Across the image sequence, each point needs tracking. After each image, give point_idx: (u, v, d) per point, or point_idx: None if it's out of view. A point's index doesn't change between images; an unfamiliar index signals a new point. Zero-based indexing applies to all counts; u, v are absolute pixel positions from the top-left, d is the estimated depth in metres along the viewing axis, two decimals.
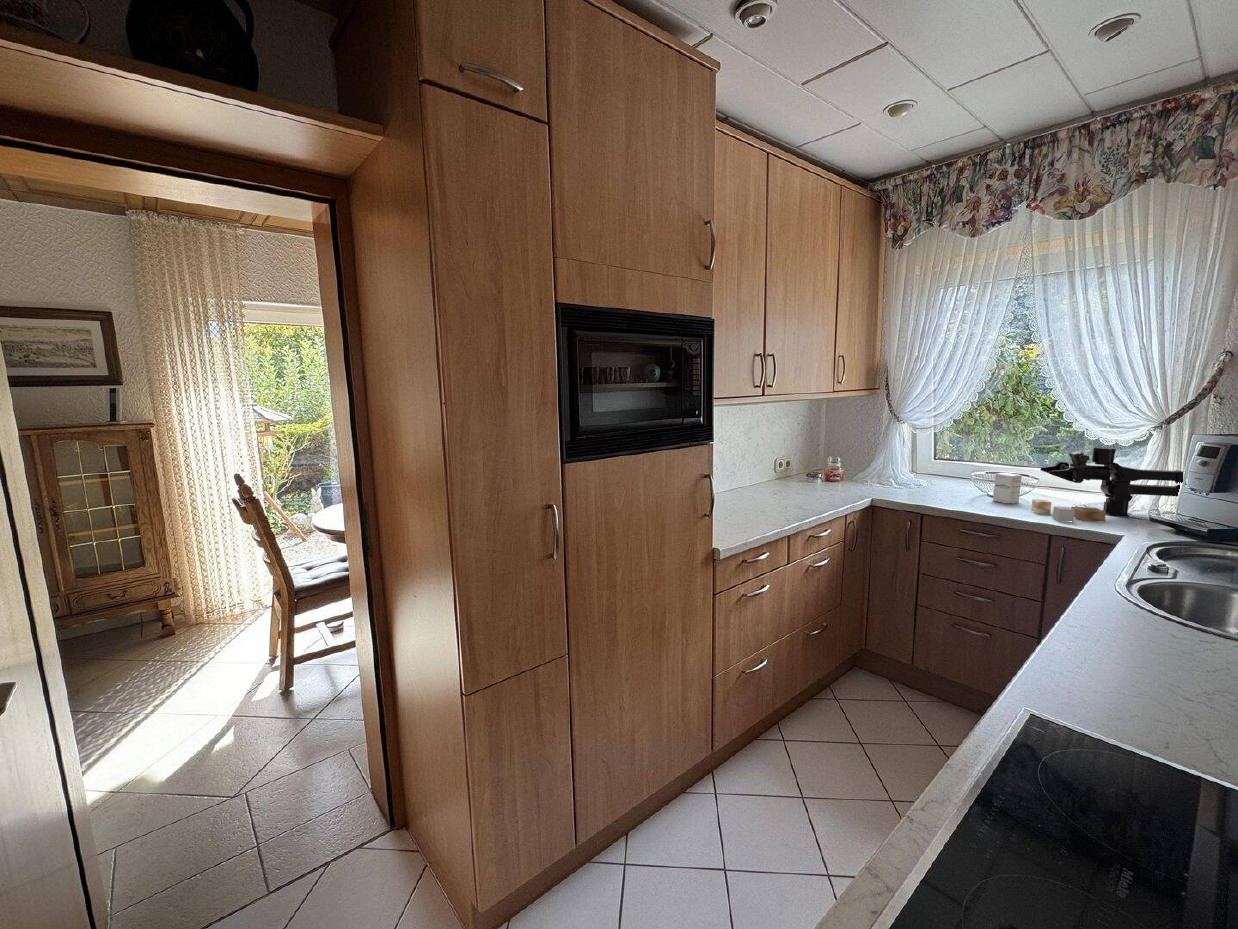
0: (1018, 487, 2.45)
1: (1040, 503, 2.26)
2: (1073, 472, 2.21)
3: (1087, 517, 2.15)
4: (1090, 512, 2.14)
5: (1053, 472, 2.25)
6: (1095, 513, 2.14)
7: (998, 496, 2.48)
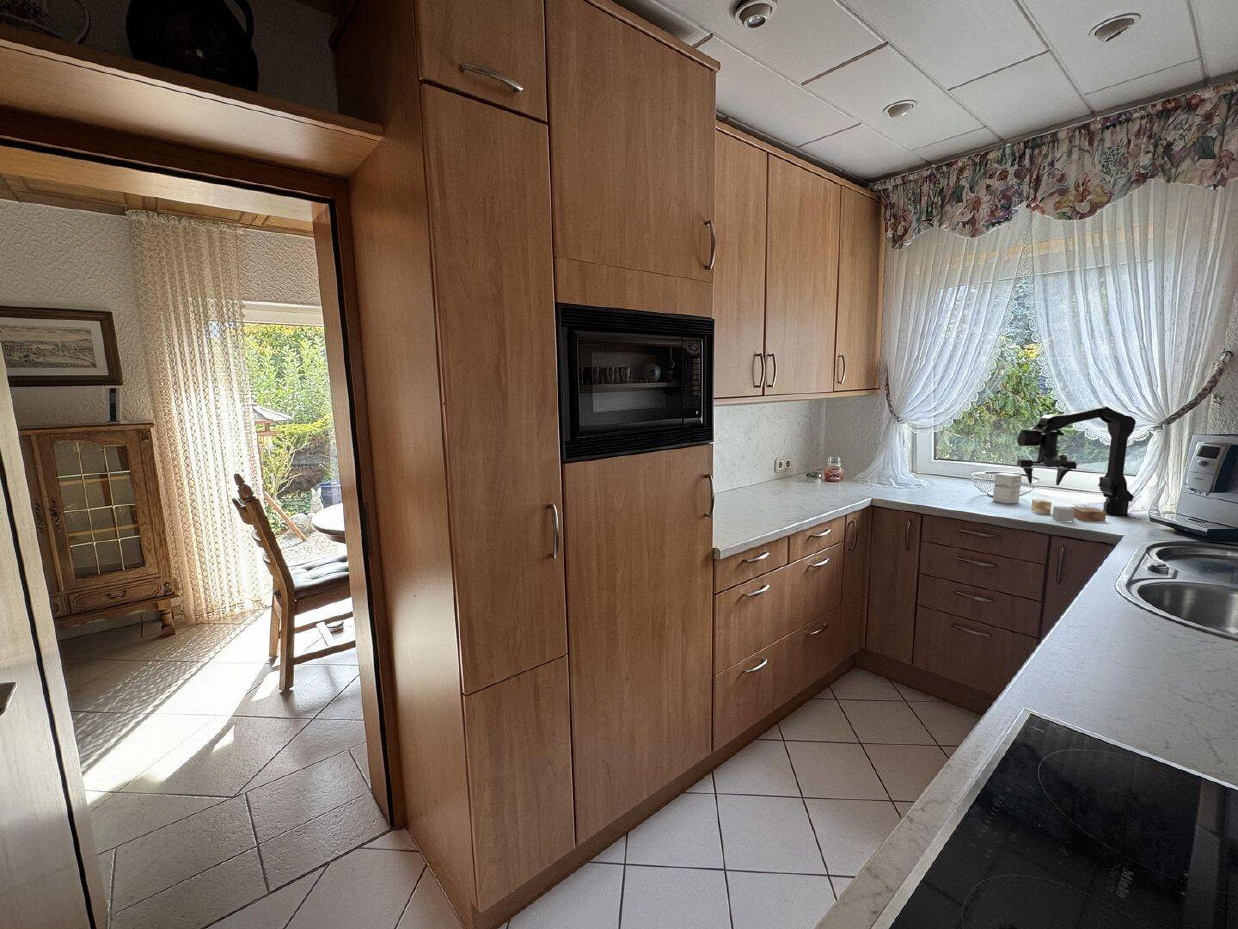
0: (1018, 487, 2.45)
1: (1040, 503, 2.26)
2: None
3: (1088, 517, 2.15)
4: (1091, 512, 2.14)
5: None
6: (1096, 513, 2.14)
7: (998, 496, 2.48)
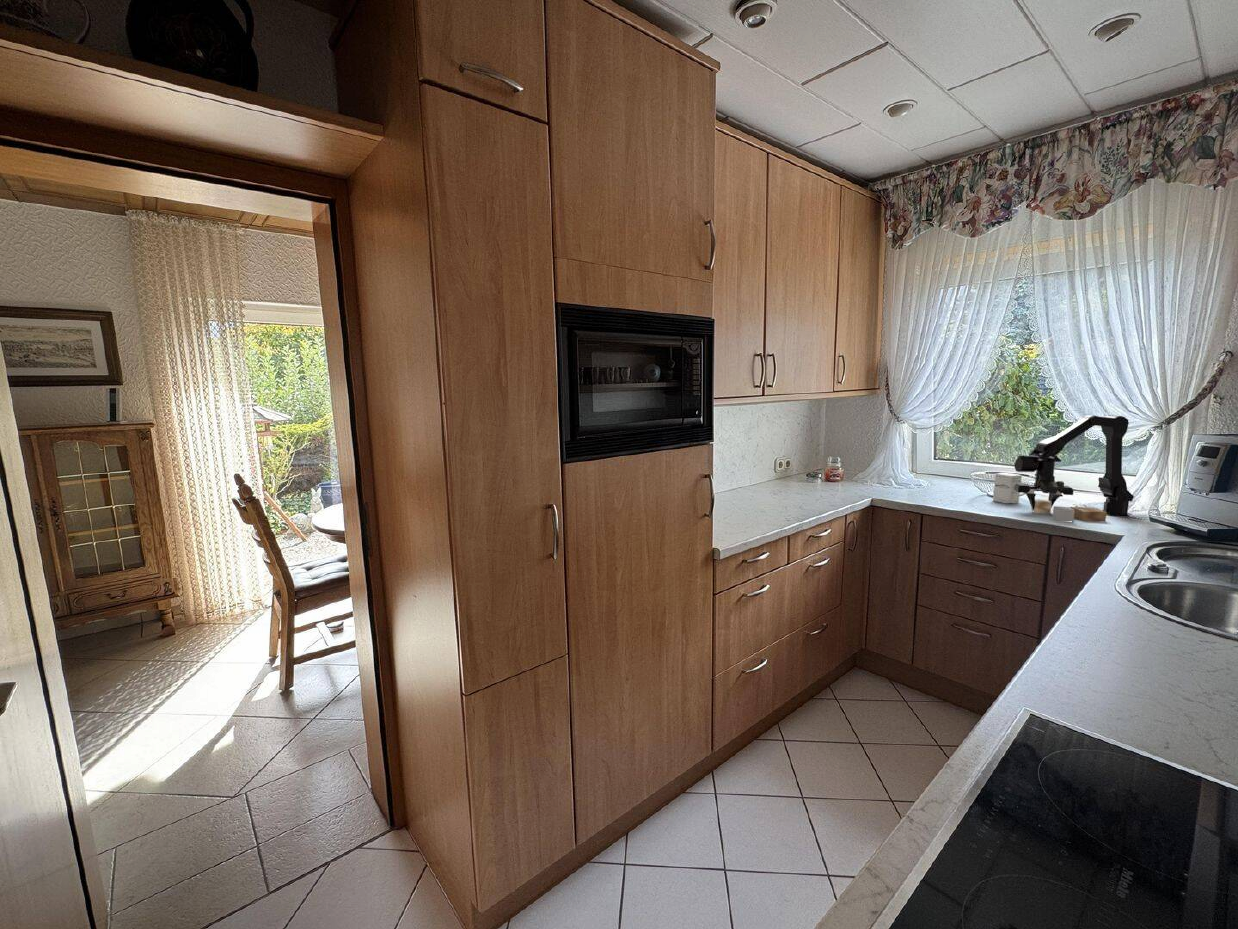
0: None
1: (1040, 503, 2.26)
2: None
3: (1089, 517, 2.14)
4: (1092, 512, 2.14)
5: None
6: (1097, 513, 2.14)
7: (998, 496, 2.48)
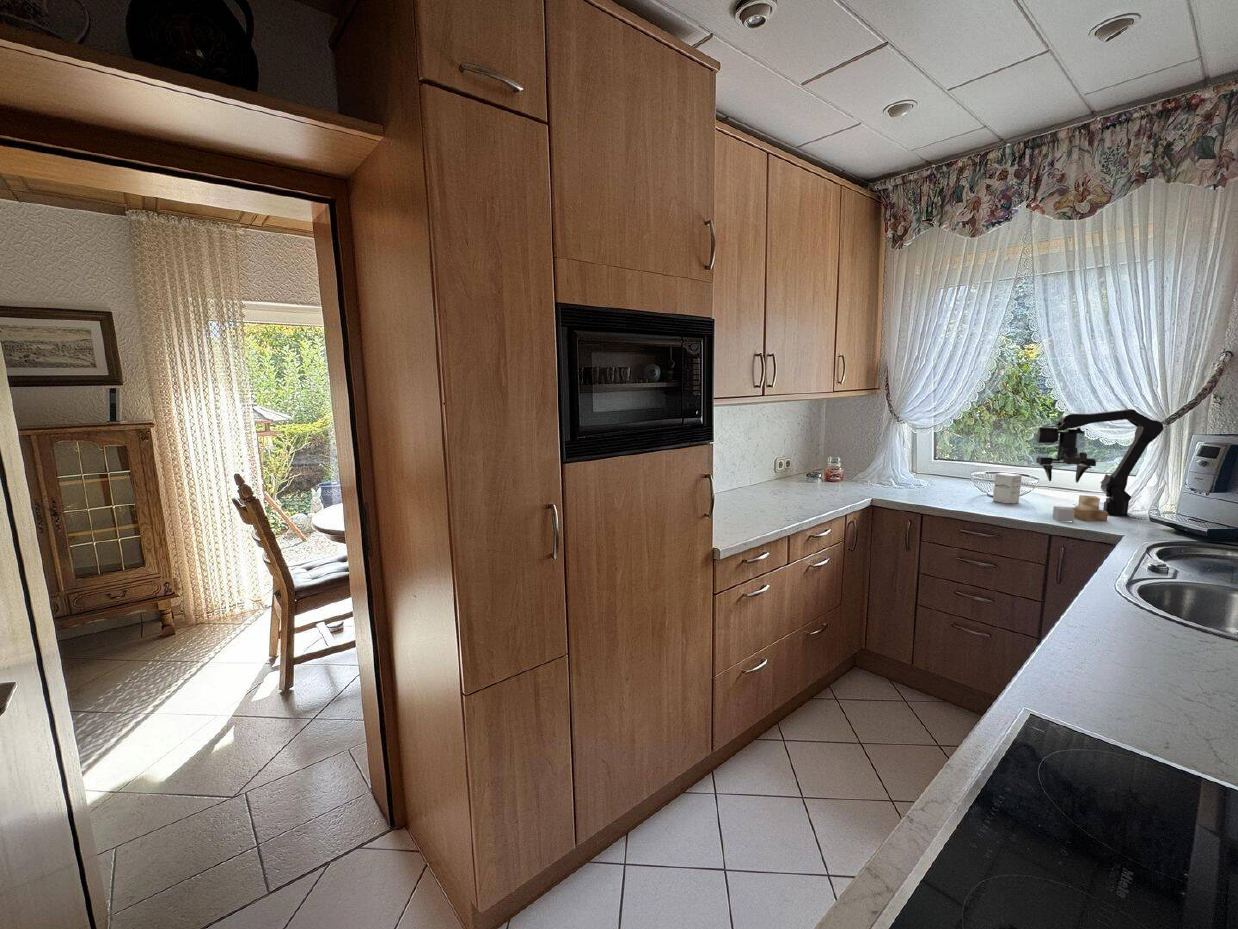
0: (1018, 487, 2.45)
1: (1087, 499, 2.15)
2: None
3: (1092, 517, 2.14)
4: (1095, 512, 2.14)
5: None
6: (1099, 513, 2.14)
7: (998, 496, 2.48)
